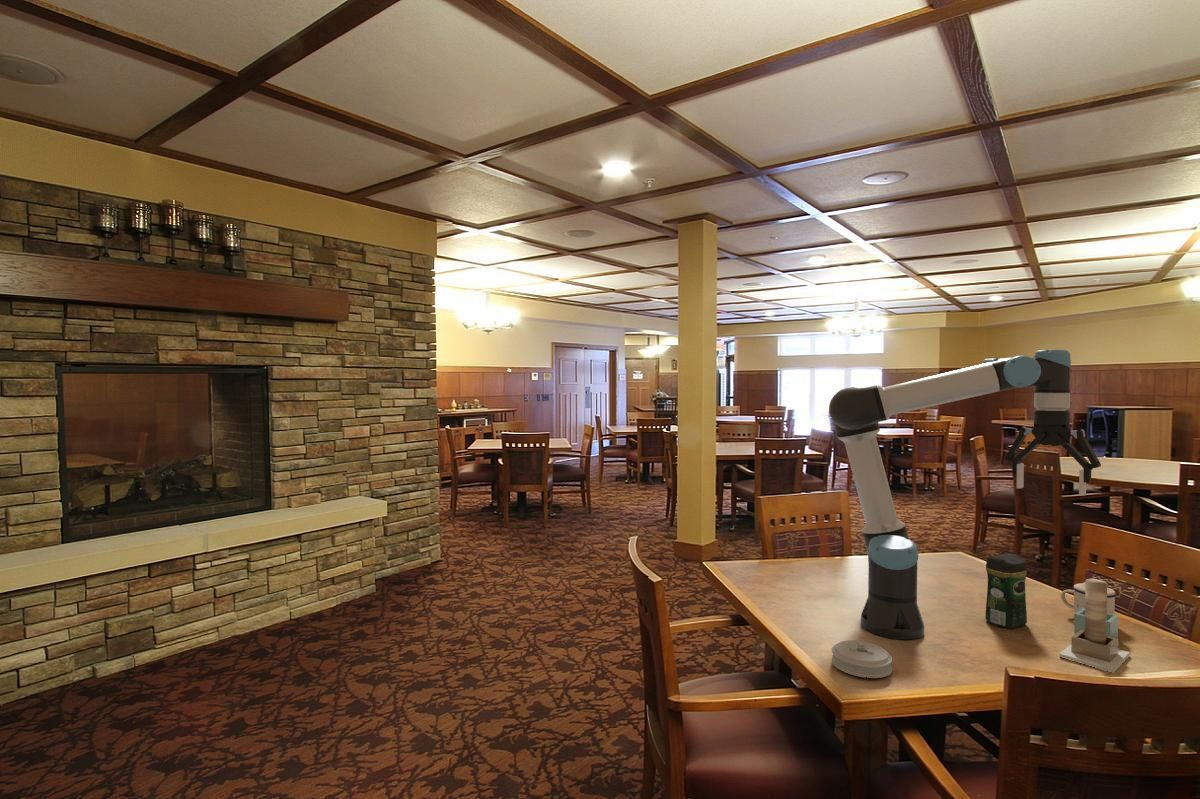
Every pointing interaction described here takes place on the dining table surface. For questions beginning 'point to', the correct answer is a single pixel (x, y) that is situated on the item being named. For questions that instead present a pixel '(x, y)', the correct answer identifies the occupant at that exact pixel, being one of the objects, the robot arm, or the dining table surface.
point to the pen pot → (1110, 624)
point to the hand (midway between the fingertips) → (1050, 491)
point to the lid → (861, 659)
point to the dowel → (1095, 611)
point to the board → (1095, 662)
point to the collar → (1094, 647)
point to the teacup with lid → (1080, 598)
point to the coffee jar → (1006, 590)
